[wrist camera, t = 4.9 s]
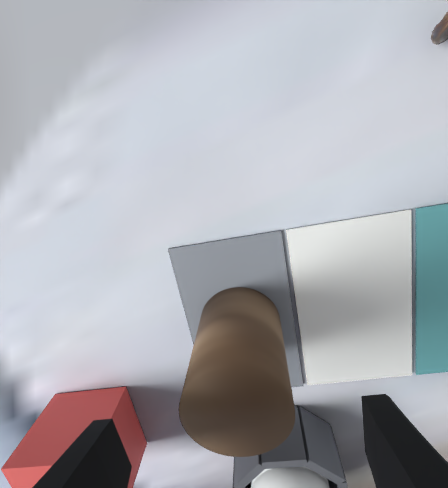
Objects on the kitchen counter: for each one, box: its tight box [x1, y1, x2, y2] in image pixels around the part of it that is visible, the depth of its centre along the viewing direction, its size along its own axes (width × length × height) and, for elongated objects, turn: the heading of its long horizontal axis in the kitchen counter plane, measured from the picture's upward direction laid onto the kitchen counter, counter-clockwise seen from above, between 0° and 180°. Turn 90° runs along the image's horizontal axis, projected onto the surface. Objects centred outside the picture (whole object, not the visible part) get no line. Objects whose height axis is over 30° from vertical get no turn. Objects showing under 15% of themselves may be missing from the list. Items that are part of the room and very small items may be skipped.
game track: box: [168, 203, 448, 387], centre depth 14 cm, size 15×8×1 cm, turn 101°
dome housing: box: [233, 406, 347, 488], centre depth 16 cm, size 5×5×3 cm
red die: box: [1, 387, 147, 488], centre depth 15 cm, size 4×4×4 cm
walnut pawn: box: [179, 287, 295, 457], centre depth 12 cm, size 4×4×5 cm
